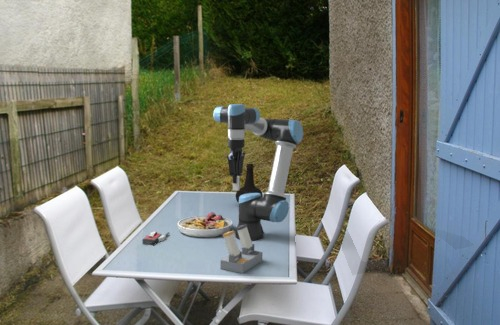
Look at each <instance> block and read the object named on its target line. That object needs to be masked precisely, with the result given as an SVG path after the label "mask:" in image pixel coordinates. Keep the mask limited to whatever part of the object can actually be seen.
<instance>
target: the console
mask: <svg viewBox="0 0 500 325" xmlns="http://www.w3.org/2000/svg"><path fill="white" fill-rule="evenodd" d="M252 245H253V246H252V247H253V249H252V250H250V251H248V248H245V247H243V248H239V251H240V257H238V258H236V259H235V256H234V255H229V254H228V255H227V256H225V257H223V258H222V259H220V270H224V271H228V272H229V271H230V272H234V273H239V274H244V273H245V272H247V271H248V270H249V269H251V268H253V267H255V266H256V265H257V264H259V263H261V262H262V261H263V251H259V250H255V243H252Z"/></svg>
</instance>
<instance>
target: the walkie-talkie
mask: <svg viewBox="0 0 500 325" xmlns="http://www.w3.org/2000/svg"><path fill="white" fill-rule="evenodd" d="M168 235H170V232H167V233H165V235H164V234H162V233H158V231H151V232H150V233H149V234H148V235H146V236H145V237H143V238H142V239H141V240H142V244H143V245H147V246H148V245H150V246H151V245H152V246H153V244H155V243H156V244H157V243H161V242H163V241H165V240H166V239H167V236H168ZM160 241H161V242H160ZM156 244H155V245H156Z"/></svg>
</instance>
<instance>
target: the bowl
mask: <svg viewBox="0 0 500 325" xmlns="http://www.w3.org/2000/svg"><path fill="white" fill-rule="evenodd" d="M232 228H233V221H232V220H231V219H230V218H227V217H224V216H222V215H221V214H218V215H217V214H216V213H215V212H213V211H212V212H211V211H210V212H209V213H208V214H207V215H195V216H189V217H185V218H182V219H180V220H179V221H178V222H177V229H178V230H179V231H180V232H181V233H182V234H183V235H186V236H189V237H193V238H194V237H195V238H214V237H220V236H223V234H225V233H227V232H229V231H232Z"/></svg>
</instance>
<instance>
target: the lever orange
mask: <svg viewBox="0 0 500 325" xmlns="http://www.w3.org/2000/svg"><path fill="white" fill-rule="evenodd" d="M222 238H223V239H224V241H225V244H226V245H225V246H226V248H227V251H228V256H229V255H234V256H235V259H236V258H238V257H240V251H239V249H240V248H239V245H238V242H237V238H236V237H235V230H230V231H229V232H227V233H225V234H223V235H222Z"/></svg>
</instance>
